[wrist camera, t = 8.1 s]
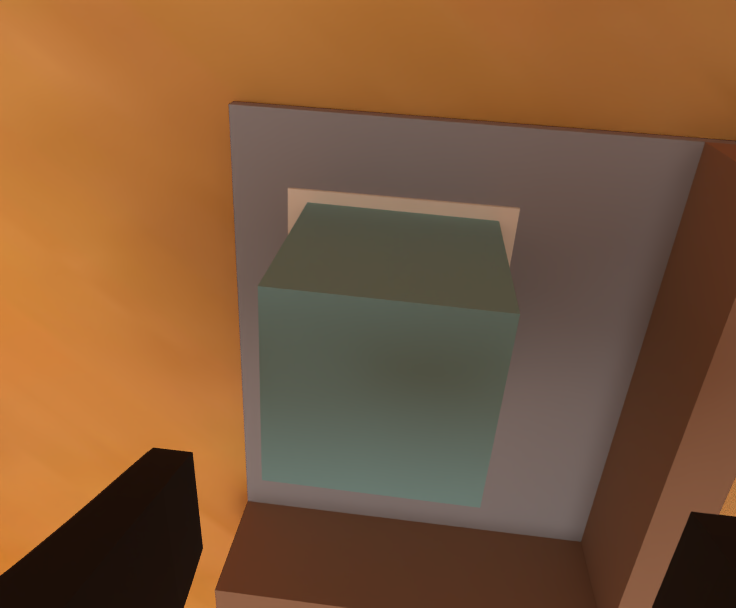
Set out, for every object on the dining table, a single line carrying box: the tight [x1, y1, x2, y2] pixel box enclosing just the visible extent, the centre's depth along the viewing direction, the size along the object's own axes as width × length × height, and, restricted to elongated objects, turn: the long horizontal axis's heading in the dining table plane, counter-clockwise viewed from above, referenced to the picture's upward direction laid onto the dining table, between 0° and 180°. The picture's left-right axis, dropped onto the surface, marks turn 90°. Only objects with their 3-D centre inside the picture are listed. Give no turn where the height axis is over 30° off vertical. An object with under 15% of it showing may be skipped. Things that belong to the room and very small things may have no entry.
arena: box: [215, 101, 736, 608], centre depth 17 cm, size 13×15×4 cm
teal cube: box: [258, 202, 520, 508], centre depth 15 cm, size 5×5×5 cm
